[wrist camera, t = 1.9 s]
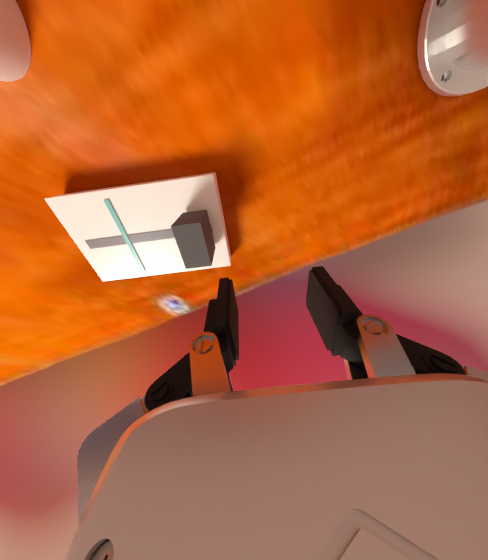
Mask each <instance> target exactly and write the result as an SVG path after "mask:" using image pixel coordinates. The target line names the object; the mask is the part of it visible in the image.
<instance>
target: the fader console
mask: <svg viewBox="0 0 488 560" xmlns="http://www.w3.org/2000/svg"><path fill="white" fill-rule="evenodd" d="M44 200H45V201H46V202H47V204H48V205H49V207H50V208H51V209H52V211H53V212H54V214H55V215H56V216H57V218H58V219H59V221H60V222H61V223H62V225H63V226H64V228H65V229H66V230H67V232H68V233H69V235H70V236H71V237H72V239H73V240H74V242H75V243H76V244H77V246H78V247H79V249H80V250H81V252H82V253H83V254H84V256H85V257H86V259H87V260H88V261H89V263H90V264H91V266H92V267H93V268H94V270H95V271H96V273H97V274H98V275H99V277H100V278H101V280H102V281H111V280H119V279H128V278H136V277H144V276H152V275H160V274H168V273H176V272H184V271H192V270H200V269H208V268H216V267H224V266H231V253H230V248H229V242H228V237H227V231H226V226H225V221H224V215H223V210H222V204H221V199H220V193H219V188H218V182H217V177H216V172H212V173H205V174H198V175H191V176H185V177H178V178H171V179H164V180H157V181H150V182H143V183H136V184H129V185H122V186H115V187H109V188H102V189H95V190H88V191H81V192H74V193H67V194H62V195H58V196H53V197H49V198H45V199H44ZM200 210H207V212H208V216H209V221H210V225H211V229H212V234H213V238H214V242H215V247H216V248H215V252H214V257H213V262H212V266H206V267H197V268H189V269H186V268H185V265H184V262H183V259H182V257H181V254H180V251H179V248H178V245H177V243H176V240H175V237H174V234H173V232H172V229H171V225H172V224H173V223H174V222H175V221H176V220H177V219H178V218H179V216H180V215H181V214H182V213H185V212H192V211H200Z"/></svg>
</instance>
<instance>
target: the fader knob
mask: <svg viewBox="0 0 488 560" xmlns="http://www.w3.org/2000/svg"><path fill="white" fill-rule="evenodd" d="M171 229H172V232H173V234H174V237H175V240H176V243H177V245H178V248H179V251H180V254H181V257H182V259H183V262H184V265H185V268H186V269H189V268H197V267H206V266H212V262H213V257H214V252H215V248H216V247H215V242H214V238H213V234H212V229H211V225H210V221H209V216H208V212H207V210H200V211H192V212H185V213H182V214H181V215H180V216H179V218H178V219H177V220H176V221H175V222H174V223H173V224H172V225H171Z"/></svg>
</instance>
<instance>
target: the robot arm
mask: <svg viewBox="0 0 488 560" xmlns="http://www.w3.org/2000/svg"><path fill="white" fill-rule="evenodd" d="M417 55H418V64H419V69H420V72H421V75H422V78H423V80H424V81H425V83H426V84H427V86H428V87H429V88H430V89H431V90H433V91H434V92H435V93H437V94H440V95H443V96H460V95H464V94H468V93H472V92H475V91H478V90H480V89H483V88H485V87H487V86H488V0H426V1H425V5H424V8H423V11H422V16H421V21H420V27H419V32H418V46H417ZM306 305H307V308H308V310H309V312H310V314H311V316H312V318H313V321H314V323H315V325H316V327H317V329H318V331H319V333H320V336H321V338H322V340H323V342H324V344H325V346H326V348H327V350H330V351H331V353H332V355H333V356H334V355H340V356H341V357H342V358H344V362H345V366H346V371H347V376H348V380H345V381H334V382H324V383H313V384H303V385H293V386H283V387H272V388H263V389H253V390H243V391H233V388H232V384H231V380H230V376H229V372H230V370H232V369H233V366H235V365H236V360H238V359H239V338H238V337H239V336H238V335H239V334H238V308H237V303H236V298H235V293H234V288H233V282H232V279H231V280H229V278H221V279H220V280H219V288H218V295H217V299H212V300H210V301H209V305H208V311H207V317H206V322H205V328H204V333H201V334H199V335H197V336H196V337H194V339H193V340H192V341H191V343H190V347H189V353H188V354H187V355H185V356H184V357H183V358H182V359H181V360H180V361H178V362H177V363H176V364H175V365H174V366H173V367H171V368H170V369H169V370H168V371H167V372H165V373H164V374H163V375H162V376H161V377H159V378H158V379H157V380H156V381H155V382H154V383H153V384H152V385H151V386H150V387H149V389H148V390H147V393H146V395H145V396H144V397H142V398H141V399H140V398H139V397H138V398H137V399H136V400H134V401H133V402H132V403H130V404H129V405H128V406H126V407H125V408H123V409H122V410H121V411H119V412H118V413H116V414H115V415H114V416H113V417H111V418H110V419H108V420H107V421H106V422H104V423H103V424H102V425H100V426H99V427H97V428H96V429H95V430H94V431H92V433H90V434H89V435H88V436H87V438H86V439H85V440H84V442H83V443H82V445H81V447H80V449H79V451H78V457H77V468H78V510H79V511H78V513H79V525H78V527H77V530H76V532H75V535H74V537H73V539H72V542H71V544H70V547H69V549H68V552H67V554H66V557H65V559H64V560H488V373H486V372H483V371H481V370H478V369H475V368H472V367H469V366H465V367H462V366H461V365H460V364H459V363H458V362H457V361H455V360H454V359H453V358H451V357H450V356H448V355H445V354H443V353H441V352H439V351H436V350H434V349H432V348H429V347H427V346H424V345H422V344H419V343H417V342H414V341H412V340H409V339H407V338H404V337H402V336H400V335H397V334H395V332H394V330H393V328H392V327H391V325H390V324H389V323H388V322H387V321H386V320H384V319H382V318H380V317H378V316H375V315H363V314H362V313H361V312H360V310H359V309H358V308H357V307H356V305H355V304H354V303H353V301H352V300H351V299H350V298H349V296H348V295H347V294H346V293H345V291H344V290H343V289H342V287H341V286H339V285H337V284H336V283H335V282H334V280H333V279H332V278H331V277H330V275H329V274H328V273H327V272H326V270H325V269H324V268H323V267H322V266H320V267H313V268H312V270H310V271H309V278H308V287H307V297H306Z"/></svg>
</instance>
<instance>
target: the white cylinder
mask: <svg viewBox="0 0 488 560" xmlns="http://www.w3.org/2000/svg"><path fill="white" fill-rule="evenodd" d="M30 63H31V43H30V37H29V33H28V29H27V26H26V23H25V20H24V18H23V15H22V13H21V10H20V8H19V6H18V4H17V2H16V0H0V81H8V82H9V81H16V80H18V79H20V78H22V77H23V76H24V75H25V74H26V73H27V71H28V69H29V66H30Z"/></svg>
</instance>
